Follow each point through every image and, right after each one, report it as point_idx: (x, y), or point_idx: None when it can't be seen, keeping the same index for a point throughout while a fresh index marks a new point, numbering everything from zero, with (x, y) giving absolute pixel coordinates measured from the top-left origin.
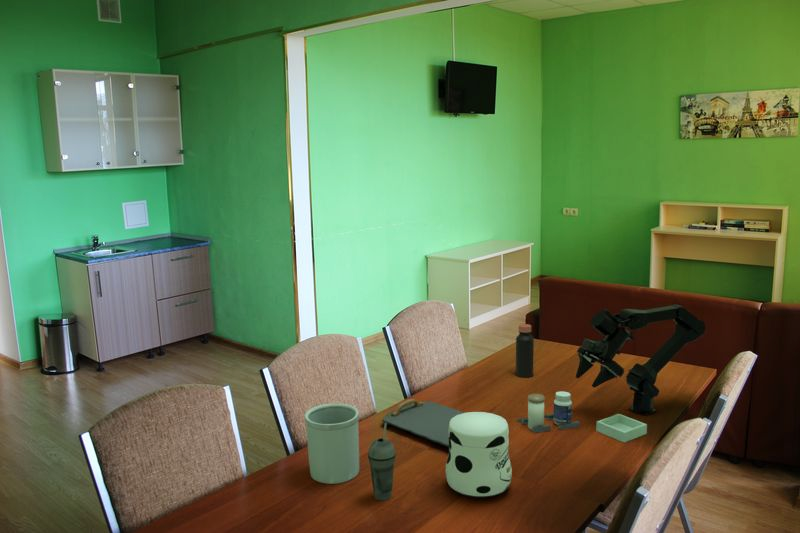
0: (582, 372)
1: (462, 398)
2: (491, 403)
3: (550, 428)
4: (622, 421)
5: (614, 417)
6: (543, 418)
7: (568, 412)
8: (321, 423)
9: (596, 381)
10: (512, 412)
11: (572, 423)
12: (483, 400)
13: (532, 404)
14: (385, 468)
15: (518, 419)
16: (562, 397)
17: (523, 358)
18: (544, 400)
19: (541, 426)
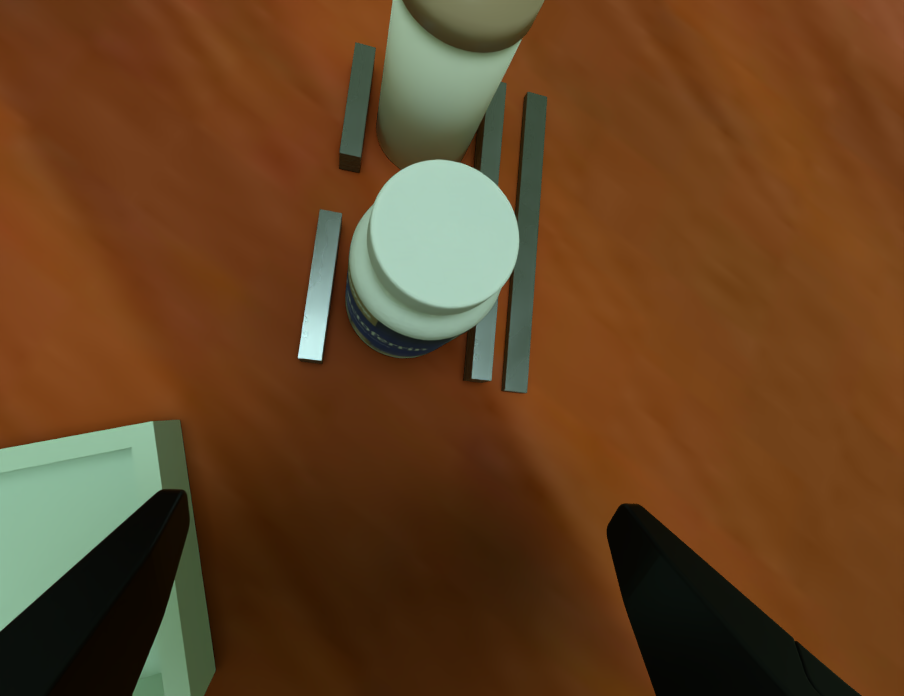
0: (665, 649)
1: (857, 75)
2: (770, 147)
3: (339, 161)
4: (141, 687)
5: (158, 631)
6: (390, 112)
7: (347, 278)
8: None
9: (58, 583)
10: (640, 159)
11: (306, 302)
12: (812, 139)
13: None
14: None
15: (536, 104)
16: (388, 183)
17: None
18: (418, 16)
19: (360, 101)
